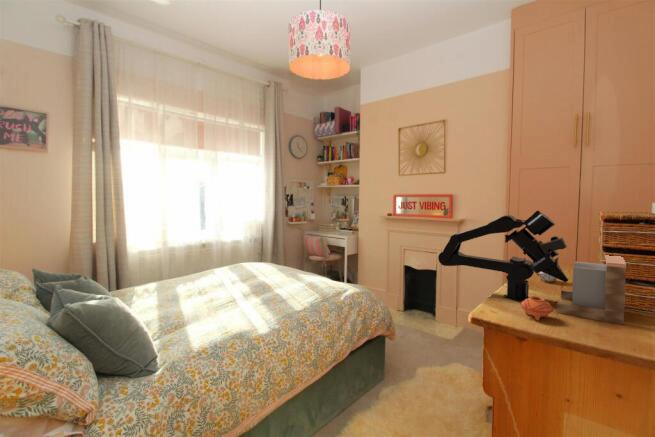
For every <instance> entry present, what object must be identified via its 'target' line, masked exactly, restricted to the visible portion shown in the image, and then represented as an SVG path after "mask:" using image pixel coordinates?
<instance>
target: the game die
mask: <svg viewBox="0 0 655 437" xmlns="http://www.w3.org/2000/svg"><path fill="white" fill-rule="evenodd" d="M536 276H539V277H540V281H543V280H544V281H545V282H546V281H547V282H548V284H550V283H551V282H553V281H554V282H555V283H556V282H557V278H555V277H553V276H550V275H548V274H546V273H543V272H539V273H537V274H536Z"/></svg>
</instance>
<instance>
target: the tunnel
mask: <svg viewBox="0 0 655 437" xmlns="http://www.w3.org/2000/svg"><path fill="white" fill-rule="evenodd" d="M604 260H606V289H605V309H598V308H592V307H586V306H580V305H573V304H572V303H567V302H566V303H565V302H560V301H557V303H556V304H557V305H556V313H557V314H561V315H566V316H567V315H568V316H573V317H578V318H585V319H591V320H595V321H596V320H597V321H600V322H601V321H602V322H607V323H613V324H619V325H625V322H624V321H625V304H626V303H625V302H626V300H625V298H626V280H627V279H626V276H627V263H626V261H625V258H624V257H621V256H609V255H605V254H604ZM560 292H561V293H560V299H561V300H565V301H571V302H572V294H573V290H567V289H561V291H560Z"/></svg>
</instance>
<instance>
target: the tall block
mask: <svg viewBox="0 0 655 437" xmlns="http://www.w3.org/2000/svg"><path fill="white" fill-rule="evenodd" d="M572 272H573V273H572V291H573V294H572V301H571V304H573V305H580V306H586V307H592V308H598V309H605V289H606V264H604V263H594V262H593V263H592V262H584V261H583V262H582V261H574V264H573V269H572Z"/></svg>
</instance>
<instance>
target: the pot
mask: <svg viewBox="0 0 655 437" xmlns="http://www.w3.org/2000/svg"><path fill="white" fill-rule="evenodd" d="M529 297H530V298H527V299H525V300H524V301H521V303H520V306H521V308H522V309H523V310H524V313H525V315H528V314H529V315H531V316H533V317H534V318H535V321H540V318H542V317H545V318H546V319H547V318H548V317H549V315H550V314H551V313H553V312H554V308H553V306H552V304H550V303H549V302H548V301H546V300H545V298H542V297H540V296H536V295H532V296H529Z"/></svg>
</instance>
